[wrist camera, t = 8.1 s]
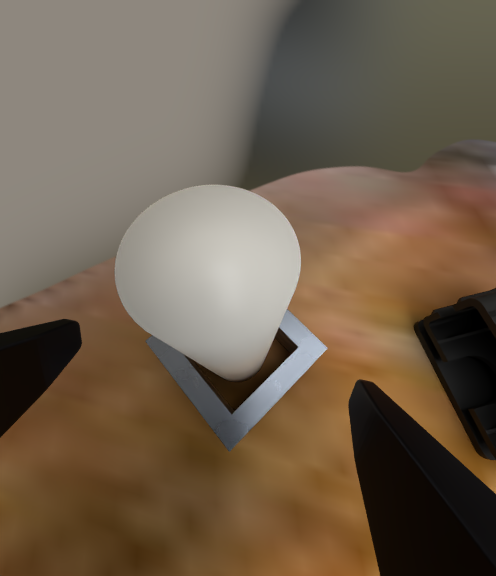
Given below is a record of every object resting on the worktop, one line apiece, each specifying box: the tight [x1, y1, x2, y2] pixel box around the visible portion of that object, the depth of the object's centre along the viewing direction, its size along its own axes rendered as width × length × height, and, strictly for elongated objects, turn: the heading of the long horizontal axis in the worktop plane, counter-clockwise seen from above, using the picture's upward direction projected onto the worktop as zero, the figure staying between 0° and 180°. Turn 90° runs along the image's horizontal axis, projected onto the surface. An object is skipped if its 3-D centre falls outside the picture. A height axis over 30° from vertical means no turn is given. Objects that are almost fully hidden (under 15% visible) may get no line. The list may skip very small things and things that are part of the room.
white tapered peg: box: [115, 185, 301, 382], centre depth 12 cm, size 4×4×14 cm
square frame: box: [146, 309, 327, 452], centre depth 17 cm, size 8×8×3 cm
